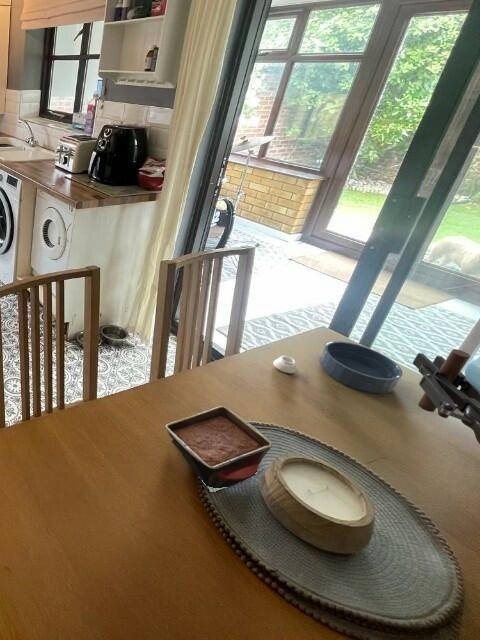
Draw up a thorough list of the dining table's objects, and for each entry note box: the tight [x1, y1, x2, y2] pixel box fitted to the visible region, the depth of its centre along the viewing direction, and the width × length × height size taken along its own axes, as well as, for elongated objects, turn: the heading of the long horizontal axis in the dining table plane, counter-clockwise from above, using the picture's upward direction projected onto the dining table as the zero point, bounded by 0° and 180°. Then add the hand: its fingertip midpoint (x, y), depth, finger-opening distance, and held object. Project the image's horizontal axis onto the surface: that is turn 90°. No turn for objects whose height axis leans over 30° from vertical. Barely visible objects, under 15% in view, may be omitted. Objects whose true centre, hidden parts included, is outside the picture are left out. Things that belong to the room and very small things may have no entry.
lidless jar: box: [272, 355, 297, 374], centre depth 110 cm, size 5×3×5 cm
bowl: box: [318, 341, 403, 394], centre depth 107 cm, size 15×15×5 cm
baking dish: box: [164, 405, 273, 488], centre depth 83 cm, size 14×18×10 cm
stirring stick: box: [417, 348, 471, 413], centre depth 81 cm, size 2×2×14 cm
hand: (426, 359), depth 85 cm, fingers closed on stirring stick, 2 cm apart
